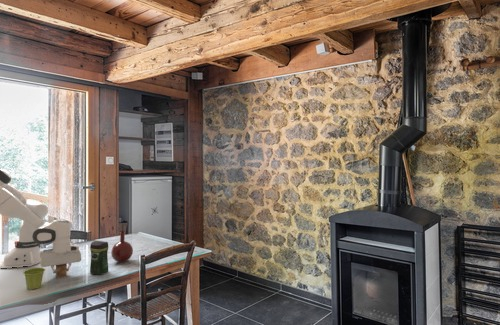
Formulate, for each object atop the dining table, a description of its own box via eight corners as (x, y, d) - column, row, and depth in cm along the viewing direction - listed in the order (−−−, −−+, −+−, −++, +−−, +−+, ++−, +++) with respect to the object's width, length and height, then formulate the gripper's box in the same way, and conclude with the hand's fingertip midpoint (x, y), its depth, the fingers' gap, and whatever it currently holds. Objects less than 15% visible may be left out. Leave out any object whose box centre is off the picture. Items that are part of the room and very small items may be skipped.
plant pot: (48, 283, 176) (48, 267, 176) (37, 291, 166) (38, 274, 166) (30, 283, 175) (30, 267, 175) (19, 291, 166) (19, 273, 166)
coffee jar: (110, 271, 196) (111, 240, 196) (101, 276, 188) (101, 243, 188) (97, 269, 199) (97, 239, 199) (87, 274, 191) (87, 242, 191)
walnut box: (56, 277, 184) (56, 266, 184) (55, 275, 189) (55, 264, 189) (66, 276, 187) (66, 265, 187) (65, 273, 192) (66, 262, 192)
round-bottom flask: (137, 260, 218) (137, 230, 217) (122, 266, 206) (122, 234, 205) (121, 257, 223) (122, 228, 222) (106, 263, 211) (106, 232, 210)
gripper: (40, 251, 179) (39, 277, 180) (81, 246, 191) (81, 270, 191) (39, 248, 185) (39, 273, 185) (80, 244, 196) (80, 267, 196)
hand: (61, 271), depth 188 cm, fingers closed on walnut box, 5 cm apart
